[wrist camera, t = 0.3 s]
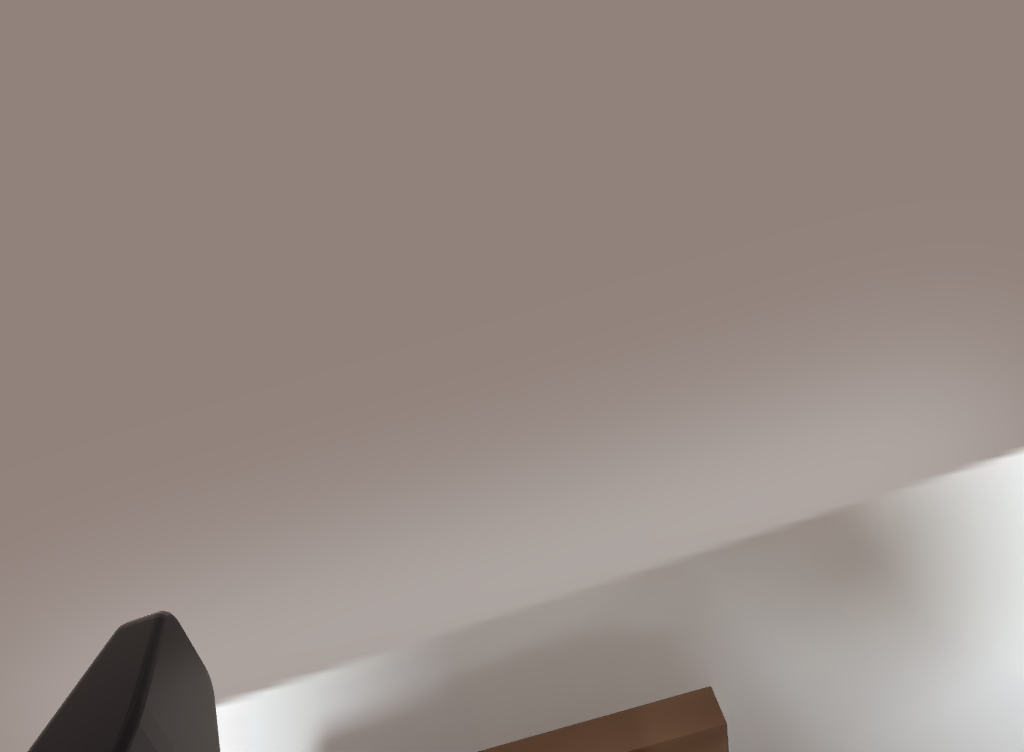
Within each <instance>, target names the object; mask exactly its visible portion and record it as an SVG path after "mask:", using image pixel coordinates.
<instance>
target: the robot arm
mask: <svg viewBox="0 0 1024 752" xmlns="http://www.w3.org/2000/svg"><path fill="white" fill-rule="evenodd" d="M28 752H220V746H219V736H218V726H217V716H216V707H215V697H214V691H213V686H212V683H211V679H210V676H209V674H208V671H207V670H206V668H205V666H204V664H203V662H202V661H201V659H200V657H199V656H198V654H197V653H196V650H195V649H194V647H193V646H192V644H191V642H190V640H189V638H188V637H187V635H186V633H185V632H184V630H183V628H182V627H181V625H180V623H179V622H178V620H177V619H176V618H175V617H174V616H173V615H172V614H171V613H170V612H166V611H160V612H157V613H154V614H151V615H148V616H145V617H142V618H139V619H136V620H133V621H130V622H127V623H125V624H123V625H121V626H120V627H119V628H118V629H117V630H116V631H115V633H114V634H113V635H112V637H111V638H110V640H109V641H108V642H107V644H106V645H105V647H104V648H103V649H102V651H101V652H100V653H99V655H98V656H97V657H96V659H95V660H94V661H93V663H92V664H91V666H90V667H89V668H88V670H87V671H86V673H85V674H84V675H83V677H82V678H81V679H80V681H79V682H78V684H77V685H76V686H75V688H74V689H73V690H72V692H71V693H70V694H69V696H68V697H67V698H66V700H65V701H64V703H63V704H62V706H61V707H60V708H59V709H58V711H57V712H56V714H55V715H54V716H53V718H52V719H51V720H50V722H49V723H48V725H47V726H46V727H45V729H44V730H43V731H42V733H41V734H40V736H39V737H38V739H37V740H36V741H35V742H34V744H33V745H32V747H31V748H30V749H29V751H28Z"/></svg>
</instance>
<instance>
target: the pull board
mask: <svg viewBox="0 0 1024 752" xmlns="http://www.w3.org/2000/svg"><path fill="white" fill-rule="evenodd" d="M479 752H729V751H728V736H727V723H726V721H725V718H724V716H723V714H722V711H721V709H720V707H719V704H718V702H717V700H716V697H715V695H714V693H713V690H712V688H711V686H710V687H706V688H703V689H699V690H696V691H692V692H689V693H685V694H682V695H678V696H674V697H671V698H667V699H664V700H660V701H657V702H653V703H650V704H646V705H643V706H639V707H635V708H632V709H628V710H625V711H621V712H618V713H614V714H611V715H607V716H603V717H600V718H596V719H593V720H589V721H586V722H582V723H579V724H575V725H571V726H568V727H564V728H561V729H557V730H554V731H550V732H547V733H543V734H540V735H536V736H532V737H529V738H525V739H522V740H518V741H515V742H511V743H508V744H504V745H500V746H497V747H493V748H490V749H486V750H483V751H479Z"/></svg>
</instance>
